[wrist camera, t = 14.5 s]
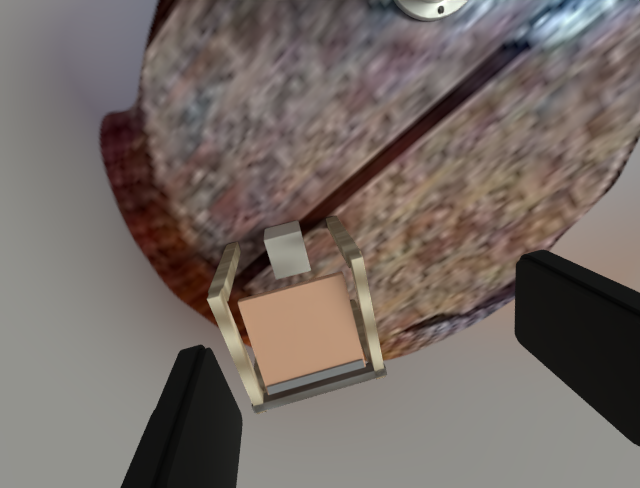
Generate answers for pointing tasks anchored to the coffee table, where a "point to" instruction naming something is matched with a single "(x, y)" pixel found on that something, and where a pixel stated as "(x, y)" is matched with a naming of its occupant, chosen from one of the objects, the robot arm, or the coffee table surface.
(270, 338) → the trapdoor
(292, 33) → the coffee table surface
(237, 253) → the trapdoor frame
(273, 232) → the smooth gray block
